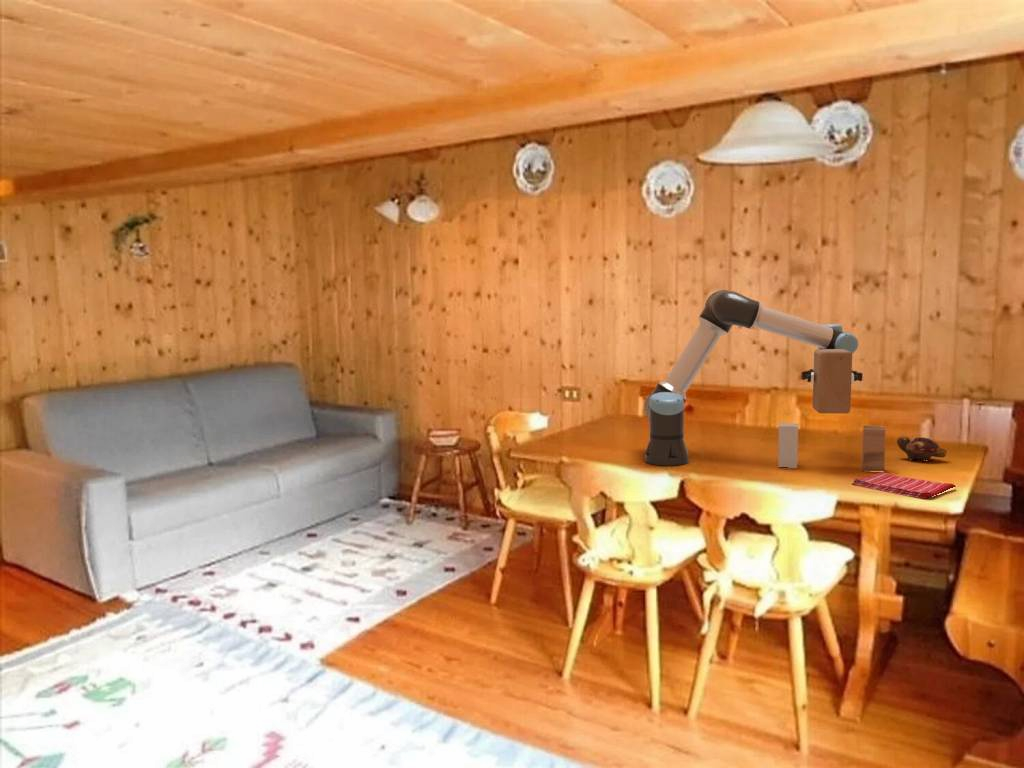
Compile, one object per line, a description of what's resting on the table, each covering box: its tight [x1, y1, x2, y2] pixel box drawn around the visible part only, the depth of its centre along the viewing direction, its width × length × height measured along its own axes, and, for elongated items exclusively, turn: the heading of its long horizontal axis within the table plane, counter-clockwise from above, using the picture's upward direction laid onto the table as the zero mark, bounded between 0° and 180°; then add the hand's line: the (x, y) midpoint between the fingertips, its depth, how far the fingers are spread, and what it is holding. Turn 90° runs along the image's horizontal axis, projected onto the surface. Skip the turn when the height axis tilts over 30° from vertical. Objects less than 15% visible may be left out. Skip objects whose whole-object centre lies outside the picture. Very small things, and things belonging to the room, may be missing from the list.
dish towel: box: [851, 472, 957, 500], centre depth 241 cm, size 17×24×3 cm
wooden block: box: [812, 348, 853, 414], centre depth 263 cm, size 10×10×20 cm
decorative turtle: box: [896, 436, 948, 461], centre depth 274 cm, size 10×15×8 cm, turn 68°
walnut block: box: [861, 425, 886, 472], centre depth 262 cm, size 6×6×14 cm
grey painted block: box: [777, 422, 799, 469], centre depth 270 cm, size 6×6×14 cm
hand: (832, 379), depth 259 cm, fingers closed on wooden block, 11 cm apart
